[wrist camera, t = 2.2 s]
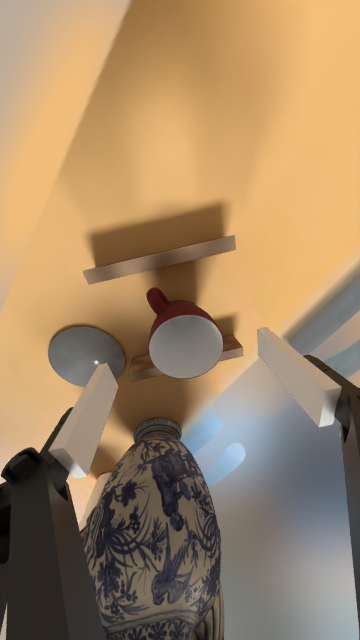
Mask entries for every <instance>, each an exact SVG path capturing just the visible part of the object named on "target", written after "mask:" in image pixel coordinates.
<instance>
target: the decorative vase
mask: <svg viewBox="0 0 360 640" xmlns="http://www.w3.org/2000/svg"><path fill="white" fill-rule="evenodd" d="M181 436H182V431H181V428H180V426H179V425H178V424H177V423H176V422H174V421H172V420H170V419H166V418H155V419H150V420H147V421H144V422H143V423H141V424H140V425H139V426H138V427H137V428H136V429H135V432H134V442H135V443H134V444H133V445H132V446H131V447H130V448H129V449H128V450H127V452H126V453H125V454H124V455H123V456H122V458H121V459H120V461H119V462H118V463H117V465H116V466H115V468H114V470H113V471H112V473H111V475H110V476H109V478H108V480H107V482H106V484H105V486H104V488H103V490H102V493H101V495H100V498H99V500H98V503H97V505H96V506H95V507H94V508H93V510H92V511H91V513H90V515H89V516H88V518H87V521H86V526H85V527H84V528H83V529H82V530H81V531H80V534H81V539H82V543H83V547H84V551H85V555H86V559H87V563H88V567H89V571H90V576H91V580H92V584H93V588H94V592H95V596H96V600H97V604H98V608H99V612H100V617H101V621H102V625H103V629H104V633H105V637H106V640H224V601H223V594H222V587H221V581H220V571H221V538H220V530H219V528H218V525H217V519H216V515H215V510H214V506H213V503H212V499H211V495H210V492H209V490H208V487H207V484H206V481H205V479H204V477H203V474H202V472H201V470H200V468H199V466H198V464H197V462H196V461H195V459H194V457H193V456H192V454H191V453H190V451H189V450H188V449H187V447H186V446H185V445H184V444H183V443H182V442H180V439H181Z"/></svg>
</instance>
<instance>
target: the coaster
mask: <svg viewBox="0 0 360 640" xmlns="http://www.w3.org/2000/svg"><path fill="white" fill-rule="evenodd" d="M48 357H49V361H50V364H51V366H52V367H53V369H54V370H55V372H56V373H57V374H58V375H59V376H61V377H62V378H63V379H65V380H66V381H68V382H70V383H72V384H75V385H78V386H82V387H86V385H87V384H88V382H89V380H90V379H91V377H92V375H93V373H94V372H95V370H96V368H97V367H98V365H100V364H105V363H107V364H108V366H109V368H110V370H111V372H112V374H113V376H114V378H115V380H116V379H117V378H118V377H119V376H120V375H121V373H122V371H123V368H124V365H125V355H124V352H123V349H122V347H121V346H120V344H119V343H118V342H117V341H116V339H114V338H113V337H112V336H111V335H109V334H108V333H106V332H104V331H102V330H99V329H96V328H92V327H84V326H80V327H72V328H69V329H66V330H64V331H62V332H61V333H59V334H58V335H57V336H56V337H55V338H54V339H53V340H52V342H51V343H50V346H49V349H48Z"/></svg>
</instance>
